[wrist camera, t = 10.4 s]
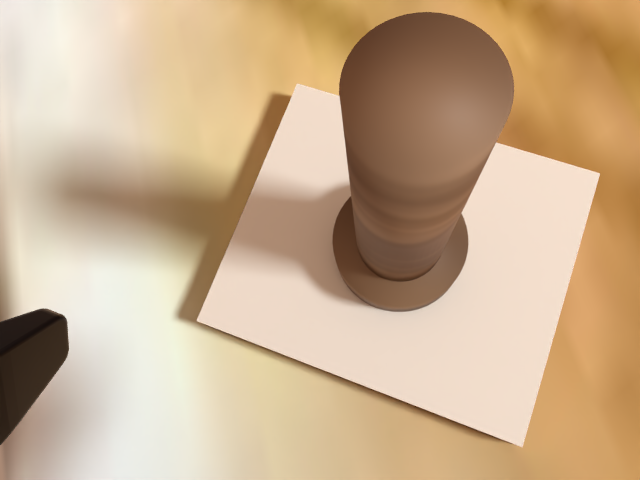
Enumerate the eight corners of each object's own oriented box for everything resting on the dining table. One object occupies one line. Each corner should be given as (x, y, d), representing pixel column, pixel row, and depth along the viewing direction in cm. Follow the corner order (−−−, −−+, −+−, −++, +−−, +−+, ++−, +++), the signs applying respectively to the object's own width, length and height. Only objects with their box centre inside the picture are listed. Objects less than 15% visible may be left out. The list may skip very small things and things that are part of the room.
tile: (514, 444, 22) (522, 447, 20) (205, 324, 24) (196, 320, 23) (588, 184, 24) (599, 173, 23) (300, 97, 26) (297, 83, 25)
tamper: (439, 330, 22) (520, 254, 10) (316, 286, 23) (251, 165, 11) (478, 211, 23) (595, 9, 11) (359, 173, 24) (344, -53, 12)
